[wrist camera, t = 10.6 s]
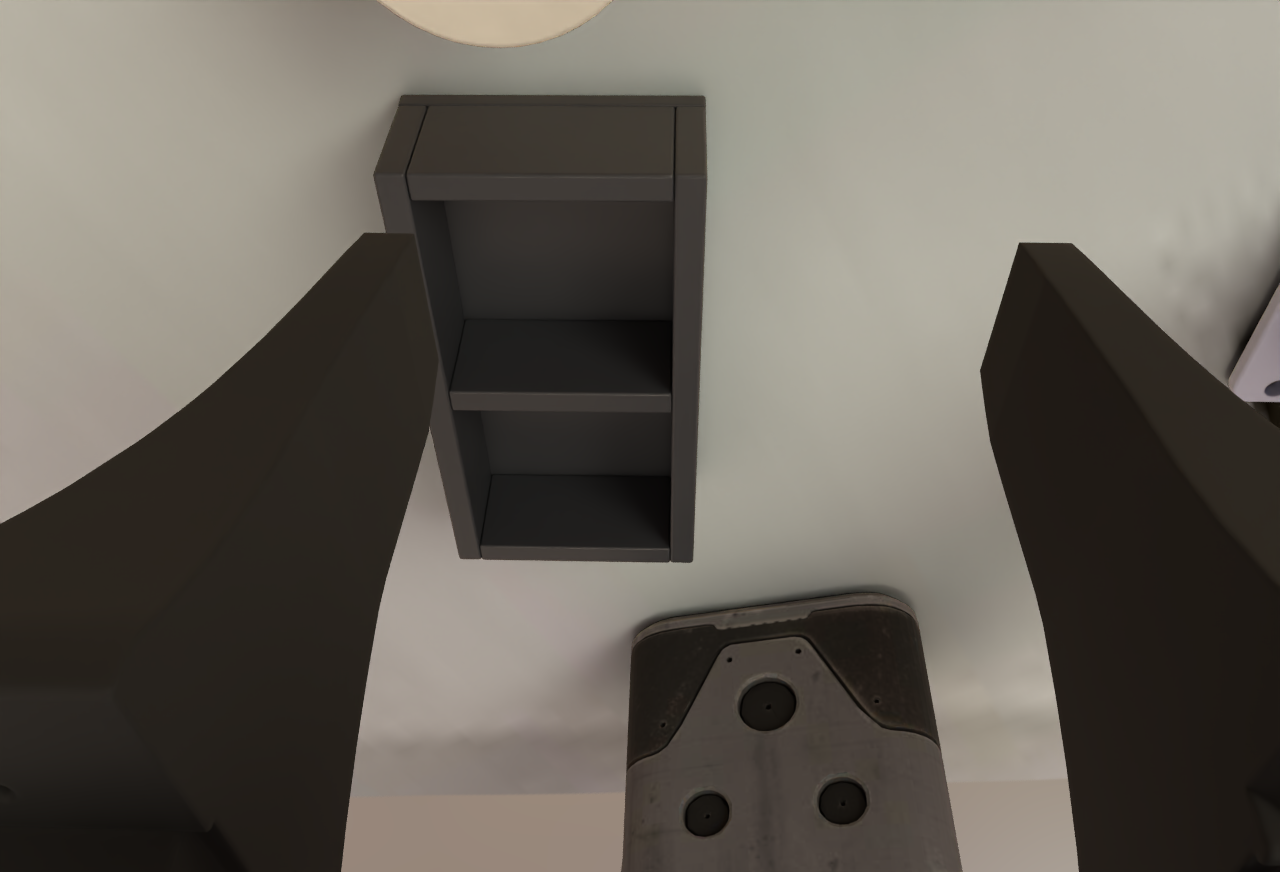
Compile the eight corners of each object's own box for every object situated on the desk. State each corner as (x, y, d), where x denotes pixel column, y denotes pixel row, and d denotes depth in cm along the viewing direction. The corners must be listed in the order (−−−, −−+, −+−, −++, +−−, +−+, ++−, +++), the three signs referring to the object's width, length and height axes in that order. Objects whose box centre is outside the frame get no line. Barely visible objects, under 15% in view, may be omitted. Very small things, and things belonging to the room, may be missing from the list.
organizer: (705, 94, 21) (707, 175, 19) (692, 479, 30) (692, 564, 28) (401, 93, 21) (371, 174, 19) (474, 476, 30) (459, 560, 28)
